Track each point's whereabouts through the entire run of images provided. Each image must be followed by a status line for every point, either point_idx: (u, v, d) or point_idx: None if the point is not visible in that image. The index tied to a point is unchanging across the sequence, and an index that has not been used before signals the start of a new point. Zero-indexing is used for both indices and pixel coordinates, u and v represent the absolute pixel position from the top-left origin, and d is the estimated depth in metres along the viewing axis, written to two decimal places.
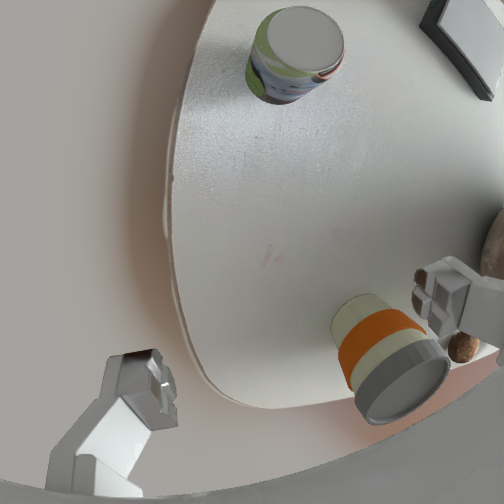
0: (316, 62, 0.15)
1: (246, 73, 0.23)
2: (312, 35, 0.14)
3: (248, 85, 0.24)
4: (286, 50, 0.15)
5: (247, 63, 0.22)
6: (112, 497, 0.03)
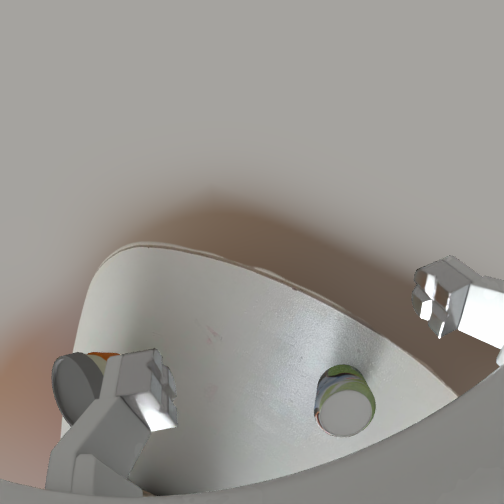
0: (326, 414, 0.24)
1: (348, 366, 0.33)
2: (346, 418, 0.23)
3: (340, 365, 0.34)
4: (340, 398, 0.24)
5: (354, 370, 0.32)
6: (112, 497, 0.03)
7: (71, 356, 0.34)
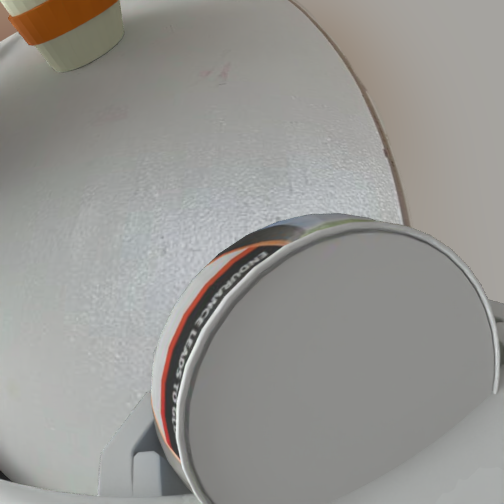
0: (322, 290, 0.03)
1: None
2: (359, 438, 0.03)
3: None
4: (446, 309, 0.03)
5: None
6: (112, 497, 0.03)
7: None
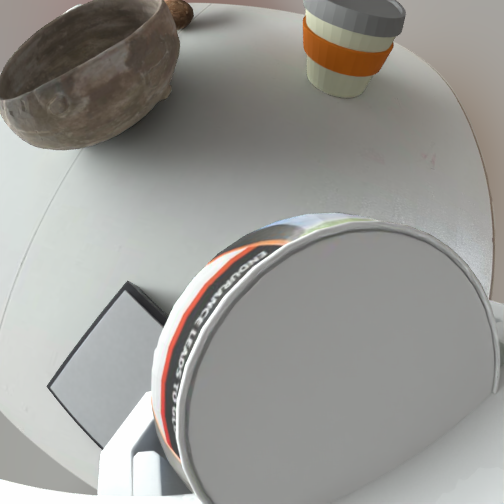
0: (321, 289, 0.03)
1: None
2: (360, 437, 0.03)
3: None
4: (446, 307, 0.03)
5: None
6: (112, 497, 0.03)
7: None
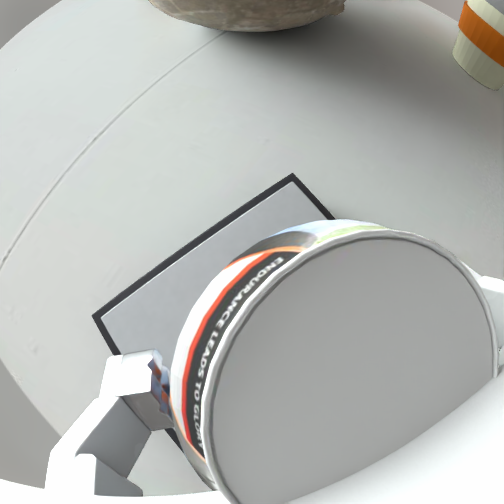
0: (335, 293, 0.04)
1: None
2: (369, 429, 0.03)
3: None
4: (448, 309, 0.04)
5: None
6: (112, 497, 0.03)
7: None
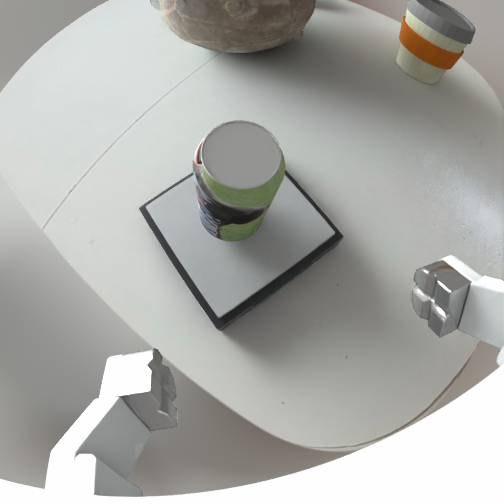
0: (228, 130, 0.18)
1: None
2: (236, 155, 0.18)
3: None
4: (259, 136, 0.18)
5: None
6: (112, 497, 0.03)
7: None
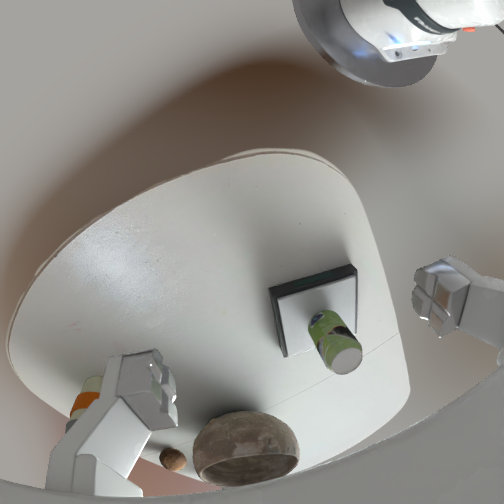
0: (345, 370, 0.41)
1: (310, 328, 0.48)
2: (349, 360, 0.40)
3: (308, 330, 0.50)
4: (336, 367, 0.40)
5: (313, 328, 0.47)
6: (112, 497, 0.03)
7: None
